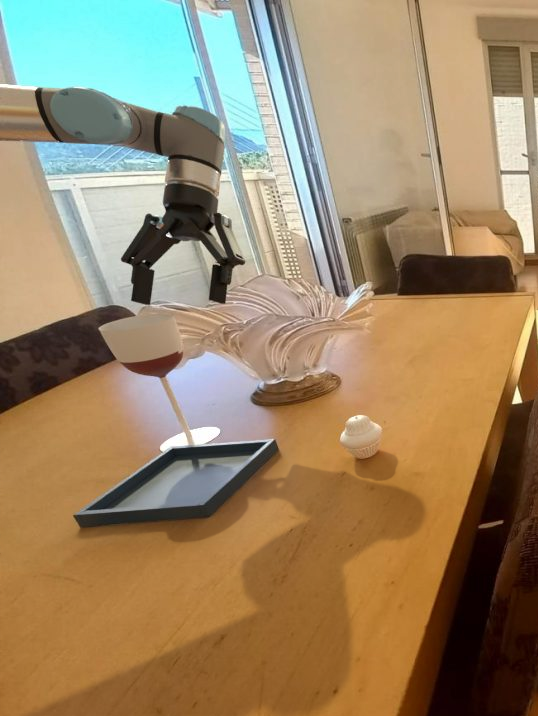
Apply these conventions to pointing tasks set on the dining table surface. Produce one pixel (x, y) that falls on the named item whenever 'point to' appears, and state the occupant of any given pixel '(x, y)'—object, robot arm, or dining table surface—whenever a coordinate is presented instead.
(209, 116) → the robot arm
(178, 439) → the wineglass
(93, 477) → the dining table surface
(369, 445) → the muffin
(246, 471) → the tray
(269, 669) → the dining table surface
